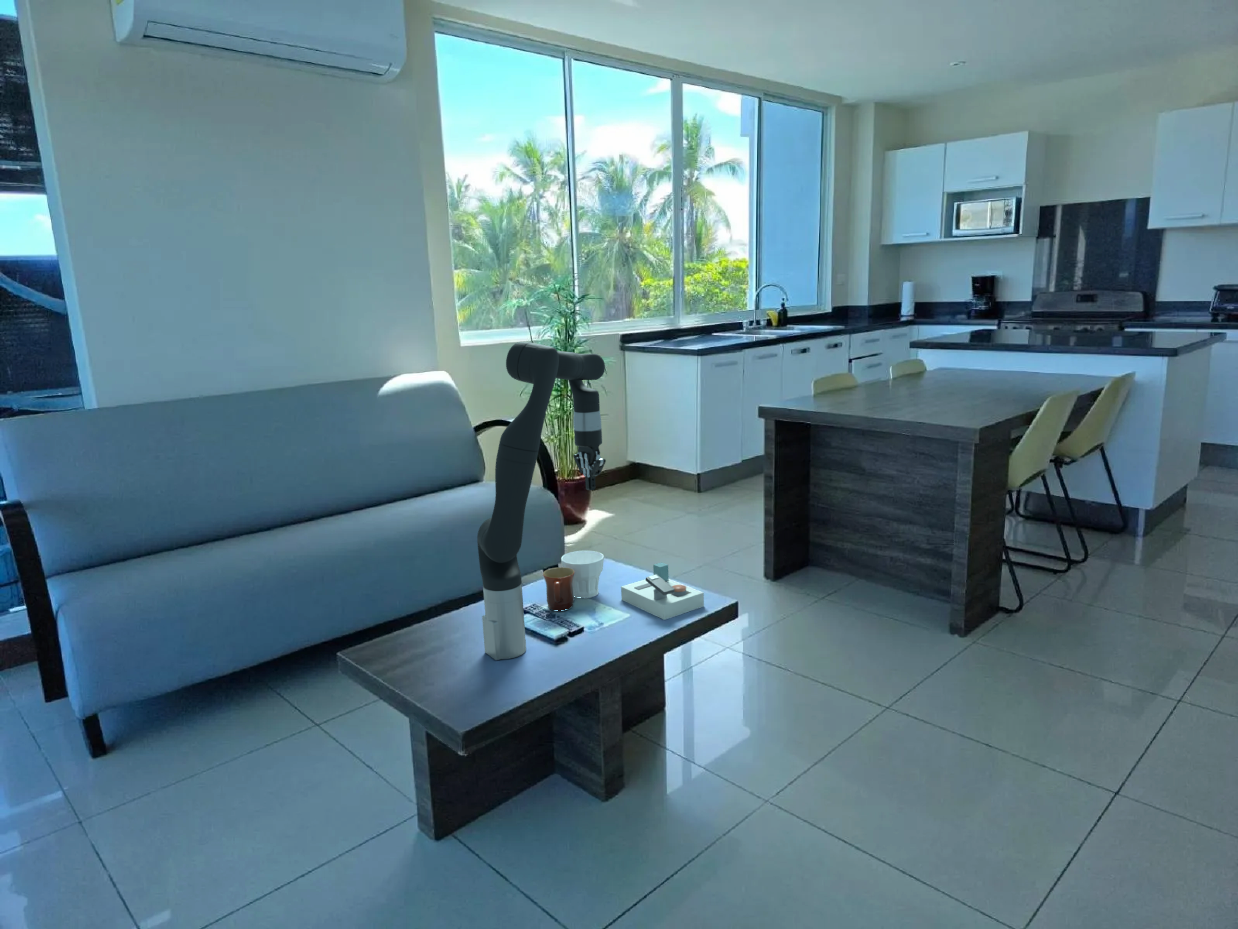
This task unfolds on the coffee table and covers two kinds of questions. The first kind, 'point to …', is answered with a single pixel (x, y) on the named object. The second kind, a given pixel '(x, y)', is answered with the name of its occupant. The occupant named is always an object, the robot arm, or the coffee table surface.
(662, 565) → the slider knob
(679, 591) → the push button
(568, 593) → the mug
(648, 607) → the panel
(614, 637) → the coffee table surface
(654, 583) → the rocker
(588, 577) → the cup
